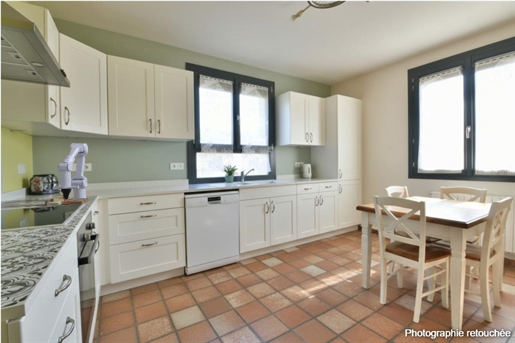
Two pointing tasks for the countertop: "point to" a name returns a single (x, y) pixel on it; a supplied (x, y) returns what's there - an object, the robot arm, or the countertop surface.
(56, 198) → the maple block
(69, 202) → the trap deck
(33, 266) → the countertop surface
